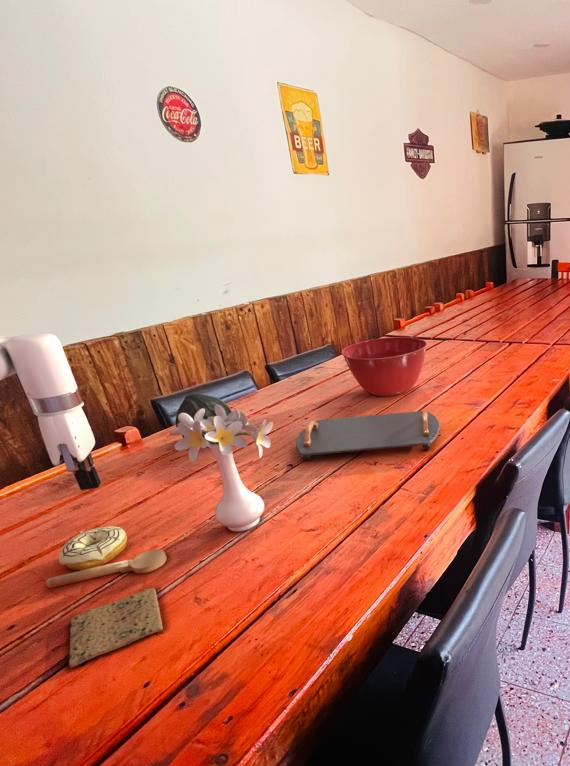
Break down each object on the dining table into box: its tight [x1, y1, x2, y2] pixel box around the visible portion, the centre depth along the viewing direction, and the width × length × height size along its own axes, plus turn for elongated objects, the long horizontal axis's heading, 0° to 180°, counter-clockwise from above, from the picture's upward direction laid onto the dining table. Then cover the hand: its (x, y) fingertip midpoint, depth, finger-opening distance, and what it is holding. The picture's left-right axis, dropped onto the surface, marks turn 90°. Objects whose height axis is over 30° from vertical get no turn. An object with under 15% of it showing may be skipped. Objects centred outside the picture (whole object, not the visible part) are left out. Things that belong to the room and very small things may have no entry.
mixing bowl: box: [341, 336, 428, 397], centre depth 174 cm, size 28×28×15 cm
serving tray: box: [295, 410, 441, 462], centre depth 139 cm, size 39×23×6 cm, turn 96°
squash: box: [175, 393, 233, 442], centre depth 144 cm, size 14×15×15 cm
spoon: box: [45, 548, 167, 589], centre depth 93 cm, size 19×6×2 cm, turn 111°
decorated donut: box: [58, 525, 128, 571], centre depth 97 cm, size 10×11×4 cm
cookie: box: [68, 587, 163, 669], centre depth 81 cm, size 12×12×1 cm
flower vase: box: [169, 404, 274, 532], centre depth 101 cm, size 13×18×25 cm
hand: (91, 486), depth 103 cm, fingers closed
